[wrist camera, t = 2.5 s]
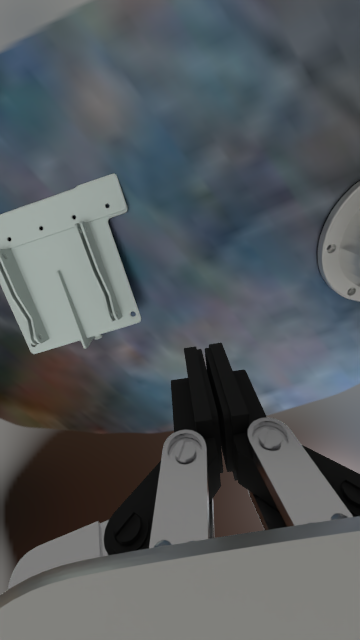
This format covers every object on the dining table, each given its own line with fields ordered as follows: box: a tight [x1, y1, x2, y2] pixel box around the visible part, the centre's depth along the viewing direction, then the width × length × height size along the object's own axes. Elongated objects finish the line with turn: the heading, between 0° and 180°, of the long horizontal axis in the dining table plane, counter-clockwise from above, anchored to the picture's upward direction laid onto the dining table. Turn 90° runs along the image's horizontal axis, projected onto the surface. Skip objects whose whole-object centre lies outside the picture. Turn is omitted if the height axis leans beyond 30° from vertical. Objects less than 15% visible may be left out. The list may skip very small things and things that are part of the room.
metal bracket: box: [0, 174, 141, 354], centre depth 25 cm, size 14×6×15 cm
